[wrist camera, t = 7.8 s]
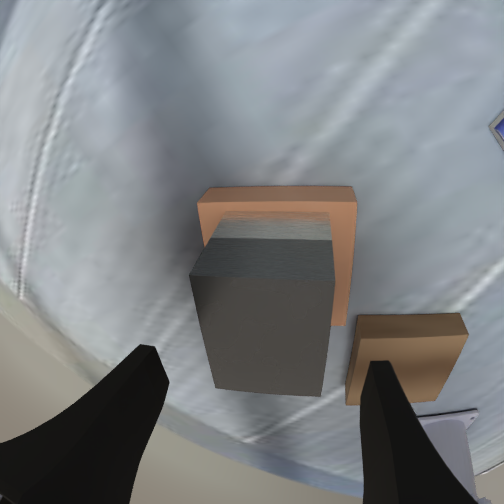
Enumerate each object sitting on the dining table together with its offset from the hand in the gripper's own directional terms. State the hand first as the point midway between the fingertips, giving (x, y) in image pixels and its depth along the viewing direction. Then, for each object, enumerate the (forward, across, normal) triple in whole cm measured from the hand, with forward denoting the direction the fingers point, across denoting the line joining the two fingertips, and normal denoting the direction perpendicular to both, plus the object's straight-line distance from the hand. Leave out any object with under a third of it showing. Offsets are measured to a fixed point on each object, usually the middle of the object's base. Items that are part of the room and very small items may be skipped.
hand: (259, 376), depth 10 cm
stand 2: (+8, -8, +8) cm, 14 cm away
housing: (+6, 0, 0) cm, 6 cm away
